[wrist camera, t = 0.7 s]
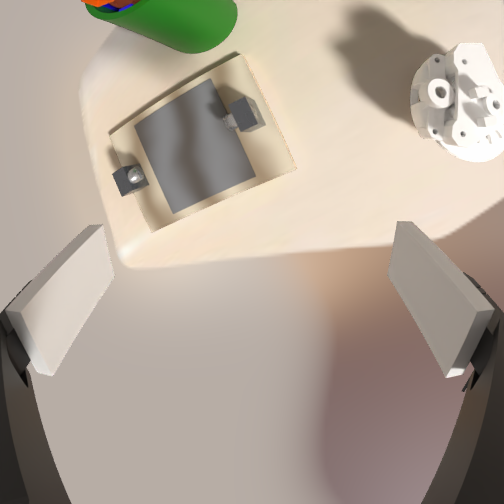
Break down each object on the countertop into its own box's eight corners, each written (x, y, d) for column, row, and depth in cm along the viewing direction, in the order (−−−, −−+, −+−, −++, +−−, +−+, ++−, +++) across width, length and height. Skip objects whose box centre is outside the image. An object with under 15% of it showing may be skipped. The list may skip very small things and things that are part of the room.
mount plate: (244, 56, 32) (240, 53, 31) (297, 168, 36) (295, 169, 34) (114, 135, 40) (108, 136, 39) (156, 230, 43) (151, 233, 42)
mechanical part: (489, 166, 29) (541, 182, 18) (400, 147, 32) (428, 151, 21) (493, 78, 25) (544, 62, 14) (404, 53, 27) (430, 20, 17)
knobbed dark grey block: (146, 159, 39) (129, 162, 35) (156, 180, 39) (139, 185, 36) (129, 169, 40) (112, 174, 36) (138, 190, 41) (122, 196, 37)
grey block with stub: (254, 100, 33) (244, 96, 29) (266, 125, 34) (258, 123, 30) (229, 112, 34) (217, 110, 31) (241, 136, 35) (230, 136, 31)
